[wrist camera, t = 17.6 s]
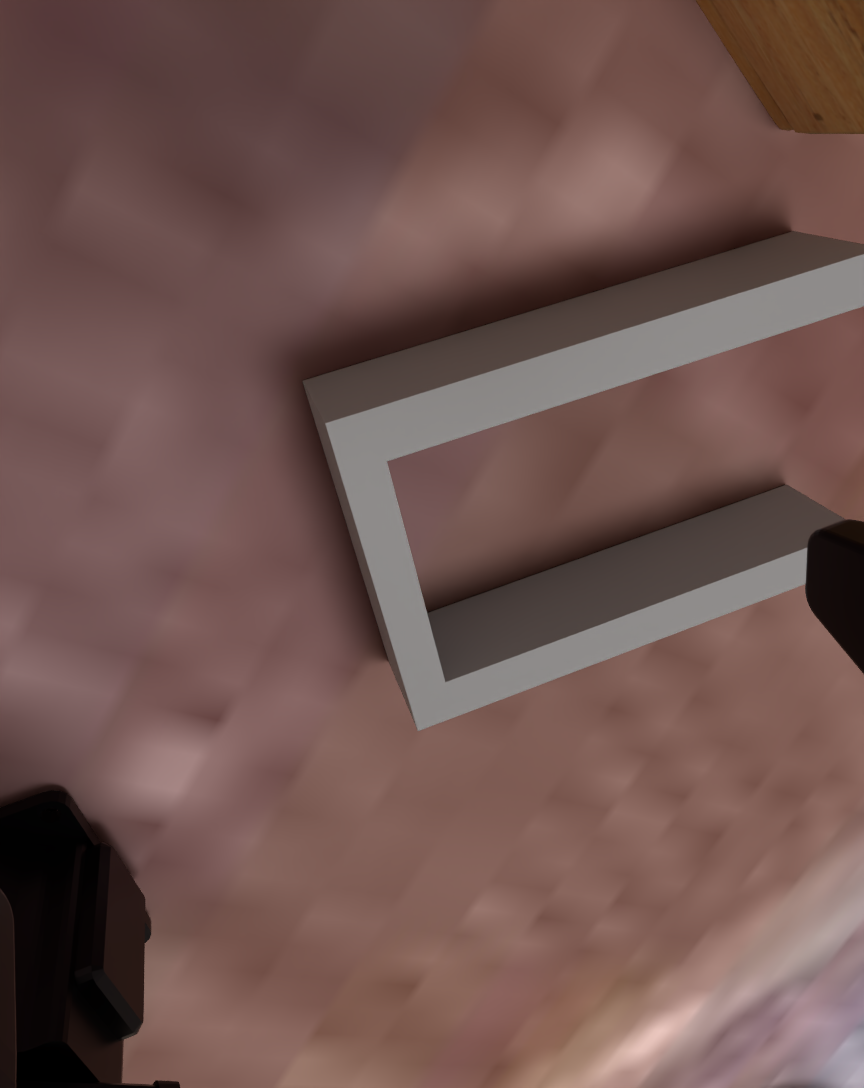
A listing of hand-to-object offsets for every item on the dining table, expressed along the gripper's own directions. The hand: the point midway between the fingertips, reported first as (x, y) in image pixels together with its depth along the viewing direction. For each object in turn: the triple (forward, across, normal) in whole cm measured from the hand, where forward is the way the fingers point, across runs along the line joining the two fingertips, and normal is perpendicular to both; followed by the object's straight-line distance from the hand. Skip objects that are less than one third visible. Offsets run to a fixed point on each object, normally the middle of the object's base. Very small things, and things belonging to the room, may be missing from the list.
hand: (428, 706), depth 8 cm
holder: (+12, -8, +4) cm, 15 cm away
